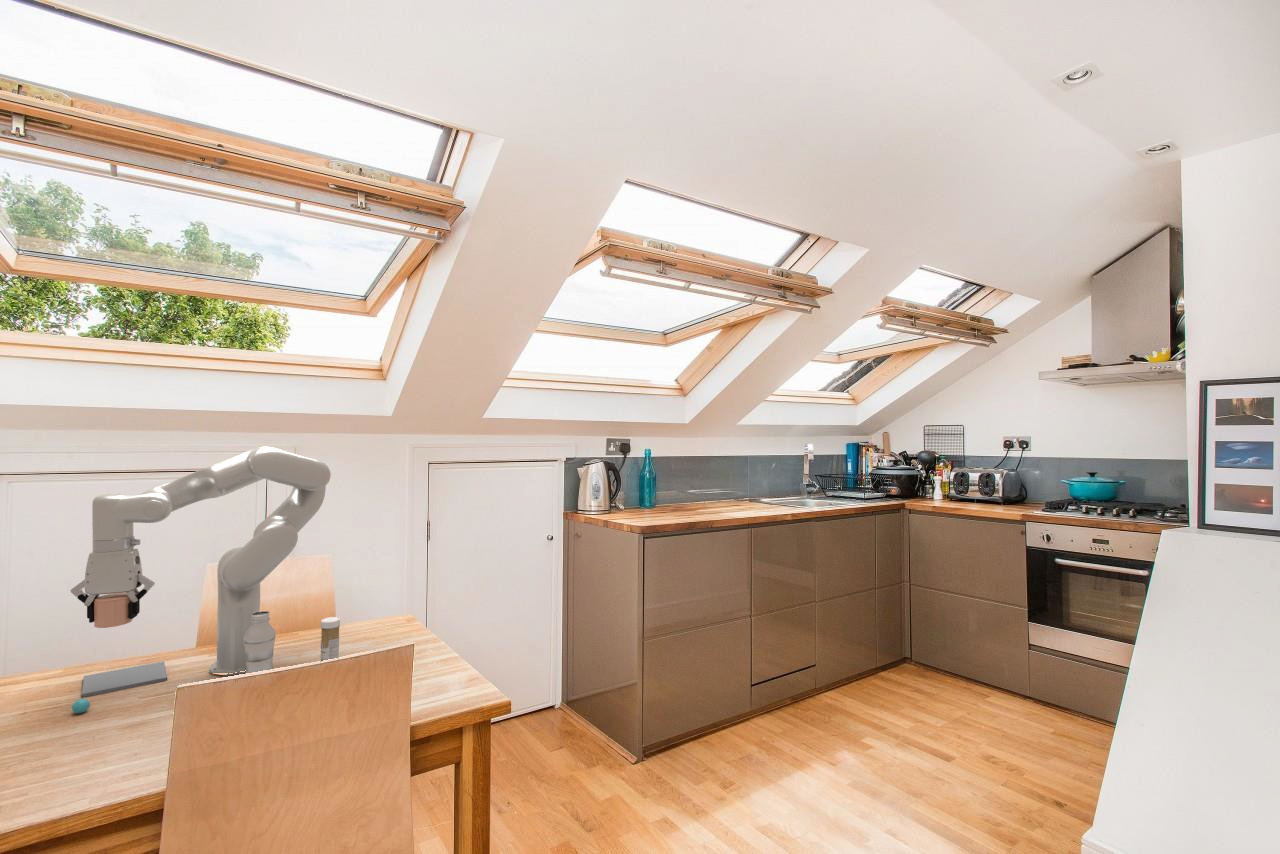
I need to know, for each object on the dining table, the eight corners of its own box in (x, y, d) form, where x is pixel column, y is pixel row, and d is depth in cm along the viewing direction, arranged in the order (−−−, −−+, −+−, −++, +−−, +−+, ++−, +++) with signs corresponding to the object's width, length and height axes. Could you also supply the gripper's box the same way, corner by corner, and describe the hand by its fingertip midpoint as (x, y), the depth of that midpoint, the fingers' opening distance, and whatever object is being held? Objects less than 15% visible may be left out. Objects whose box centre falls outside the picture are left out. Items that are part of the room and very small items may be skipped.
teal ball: (93, 709, 138) (93, 696, 138) (80, 716, 135) (81, 702, 135) (80, 709, 138) (80, 696, 139) (67, 715, 136) (67, 701, 136)
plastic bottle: (281, 694, 148) (283, 610, 148) (256, 706, 141) (257, 618, 141) (261, 690, 150) (263, 608, 150) (235, 701, 143) (237, 615, 144)
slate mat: (163, 664, 166) (163, 661, 166) (167, 680, 155) (167, 677, 155) (83, 679, 155) (83, 675, 155) (81, 697, 145) (81, 694, 145)
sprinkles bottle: (316, 670, 163) (317, 619, 163) (334, 665, 166) (335, 615, 167) (324, 674, 160) (325, 622, 160) (342, 669, 163) (343, 618, 164)
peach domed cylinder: (139, 618, 152) (139, 592, 152) (115, 627, 145) (115, 600, 145) (111, 618, 152) (111, 592, 152) (87, 627, 145) (86, 600, 145)
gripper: (162, 540, 155) (163, 610, 155) (76, 545, 149) (76, 618, 149) (150, 545, 148) (151, 619, 148) (59, 551, 142) (59, 628, 142)
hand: (113, 618), depth 149 cm, fingers closed on peach domed cylinder, 7 cm apart
